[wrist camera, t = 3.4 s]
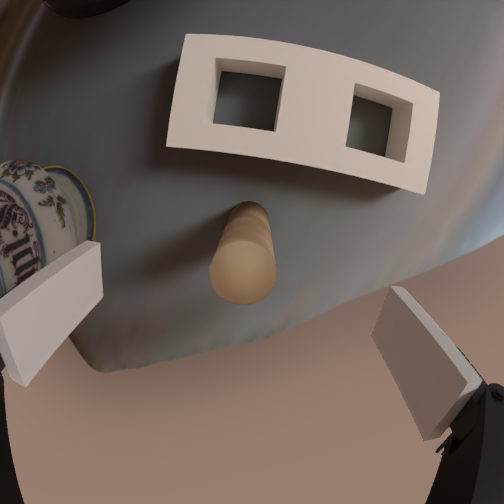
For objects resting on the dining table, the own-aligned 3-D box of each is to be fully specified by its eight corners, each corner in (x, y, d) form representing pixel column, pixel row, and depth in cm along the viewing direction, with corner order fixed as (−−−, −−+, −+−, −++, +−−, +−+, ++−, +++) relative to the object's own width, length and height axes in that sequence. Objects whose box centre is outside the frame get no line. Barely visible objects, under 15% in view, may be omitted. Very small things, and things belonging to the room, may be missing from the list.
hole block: (180, 146, 20) (166, 146, 17) (196, 49, 18) (185, 33, 14) (403, 187, 21) (424, 195, 18) (417, 97, 18) (439, 92, 15)
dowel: (227, 236, 23) (206, 299, 13) (232, 198, 22) (212, 238, 12) (265, 241, 23) (270, 308, 13) (271, 204, 22) (282, 248, 12)
